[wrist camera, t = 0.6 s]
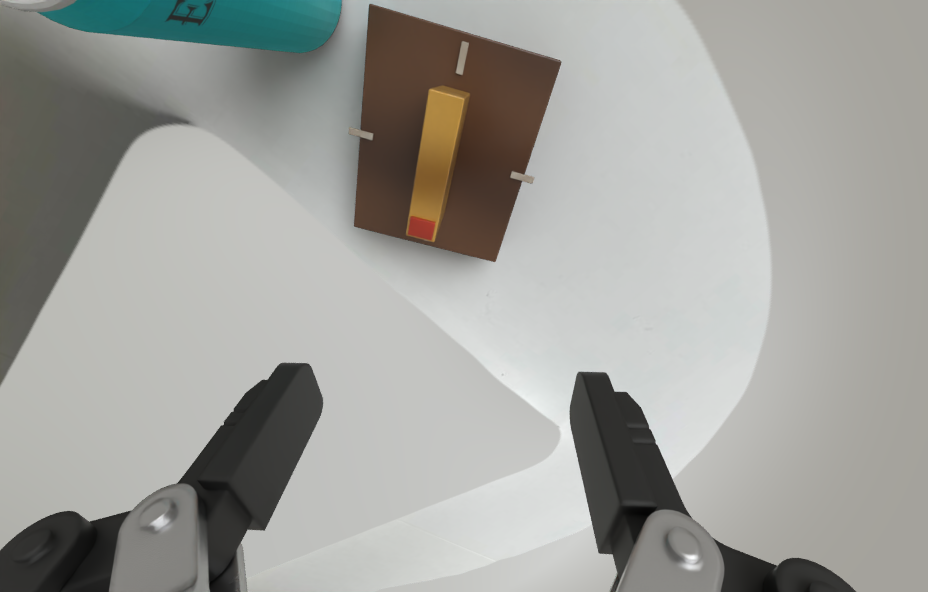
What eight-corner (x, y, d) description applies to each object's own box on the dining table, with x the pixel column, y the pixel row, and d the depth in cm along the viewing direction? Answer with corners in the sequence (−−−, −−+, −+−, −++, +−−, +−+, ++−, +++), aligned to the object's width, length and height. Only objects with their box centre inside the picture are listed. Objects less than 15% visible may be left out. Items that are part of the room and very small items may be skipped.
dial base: (374, 8, 19) (355, -2, 17) (563, 65, 20) (573, 64, 18) (359, 210, 26) (343, 225, 23) (502, 246, 27) (503, 265, 24)
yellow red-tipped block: (441, 84, 19) (427, 88, 15) (470, 93, 19) (464, 98, 15) (420, 208, 22) (404, 237, 18) (444, 214, 22) (433, 244, 18)
